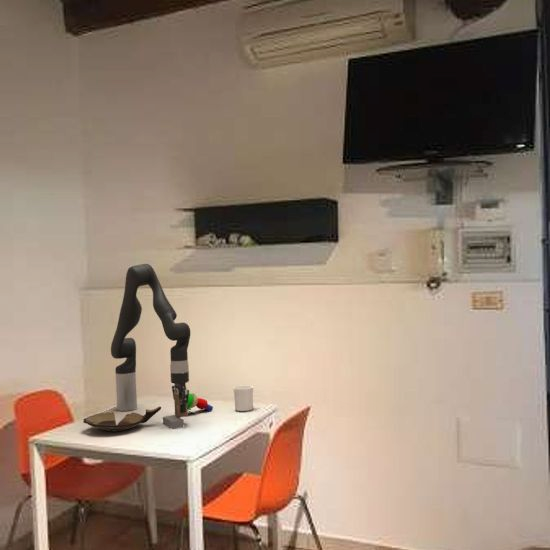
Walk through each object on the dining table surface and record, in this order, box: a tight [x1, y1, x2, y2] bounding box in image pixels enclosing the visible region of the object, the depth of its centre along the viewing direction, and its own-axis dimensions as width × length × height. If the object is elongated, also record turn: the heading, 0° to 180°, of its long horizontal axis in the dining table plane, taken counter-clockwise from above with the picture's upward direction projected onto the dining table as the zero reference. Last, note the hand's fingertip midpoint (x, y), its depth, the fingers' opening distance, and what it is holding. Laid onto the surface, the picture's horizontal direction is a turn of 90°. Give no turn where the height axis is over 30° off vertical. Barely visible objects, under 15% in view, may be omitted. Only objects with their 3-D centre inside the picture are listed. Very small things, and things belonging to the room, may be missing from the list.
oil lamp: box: [82, 406, 162, 432], centre depth 244 cm, size 22×30×8 cm
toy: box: [187, 392, 214, 415], centre depth 268 cm, size 8×8×15 cm
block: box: [173, 392, 188, 418], centre depth 249 cm, size 4×4×10 cm
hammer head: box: [162, 414, 184, 430], centre depth 247 cm, size 10×5×3 cm, turn 31°
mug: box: [232, 385, 254, 413], centre depth 270 cm, size 11×9×10 cm
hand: (181, 411), depth 249 cm, fingers closed on block, 4 cm apart
